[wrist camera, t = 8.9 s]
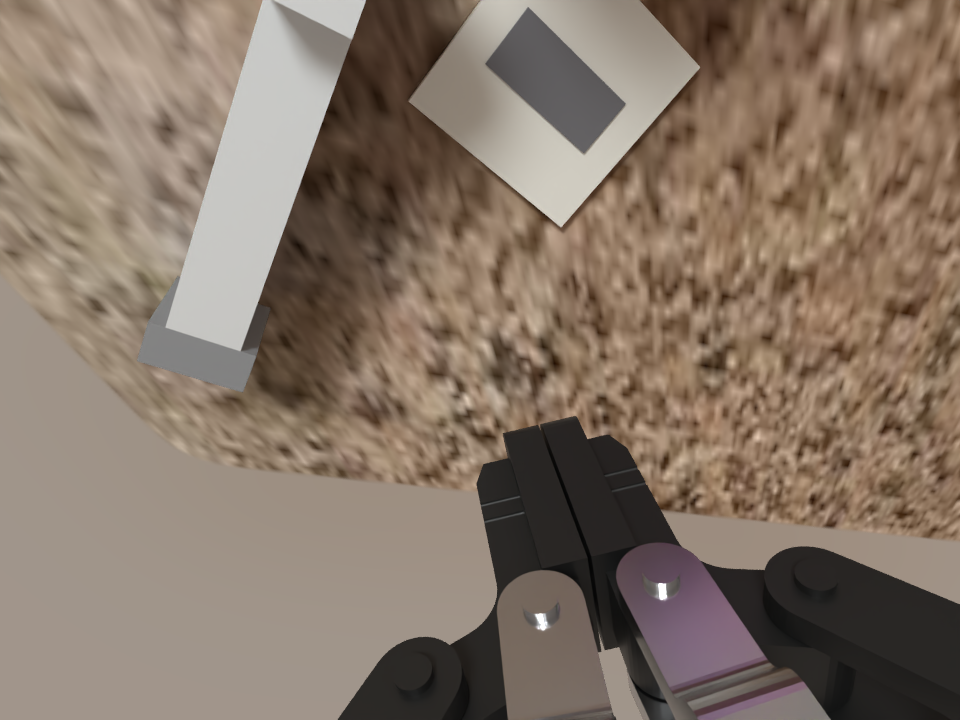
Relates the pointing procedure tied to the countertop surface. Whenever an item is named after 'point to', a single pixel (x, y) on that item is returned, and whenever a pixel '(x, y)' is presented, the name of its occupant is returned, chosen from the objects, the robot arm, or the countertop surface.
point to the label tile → (553, 91)
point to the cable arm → (251, 192)
